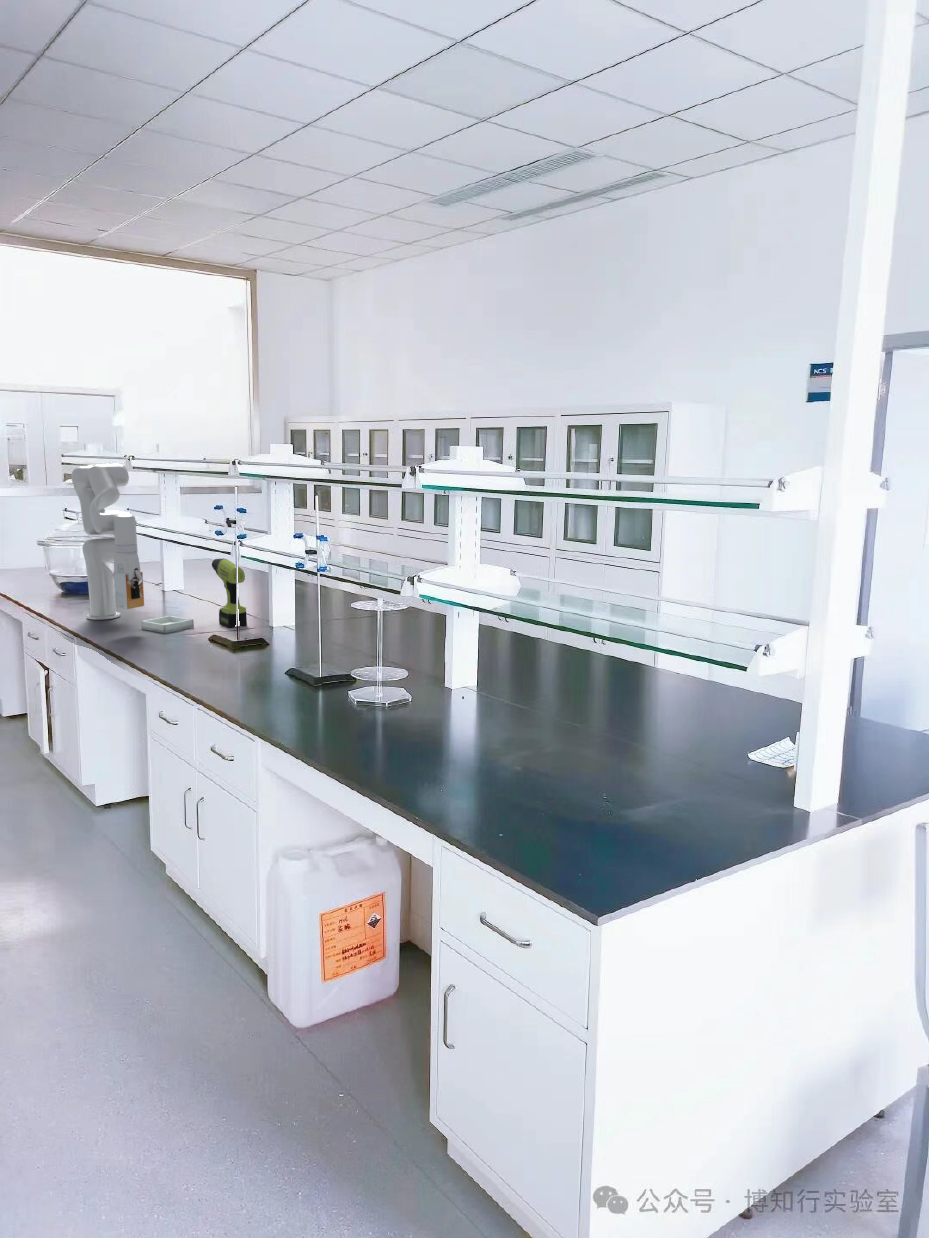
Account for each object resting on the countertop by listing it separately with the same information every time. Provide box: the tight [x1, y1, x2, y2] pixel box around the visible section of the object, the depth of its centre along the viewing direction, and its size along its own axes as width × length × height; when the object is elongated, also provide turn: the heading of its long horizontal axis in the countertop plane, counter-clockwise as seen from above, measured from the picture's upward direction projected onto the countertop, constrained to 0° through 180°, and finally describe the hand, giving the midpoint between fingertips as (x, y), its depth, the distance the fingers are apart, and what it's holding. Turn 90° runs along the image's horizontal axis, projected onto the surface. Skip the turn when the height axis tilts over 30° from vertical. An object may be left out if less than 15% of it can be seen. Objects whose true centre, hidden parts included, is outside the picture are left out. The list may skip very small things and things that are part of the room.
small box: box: [113, 570, 145, 610], centre depth 334 cm, size 8×6×13 cm
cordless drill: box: [211, 558, 248, 629], centre depth 351 cm, size 23×7×25 cm, turn 37°
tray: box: [140, 615, 195, 634], centre depth 345 cm, size 14×13×3 cm
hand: (129, 596), depth 334 cm, fingers closed on small box, 6 cm apart
